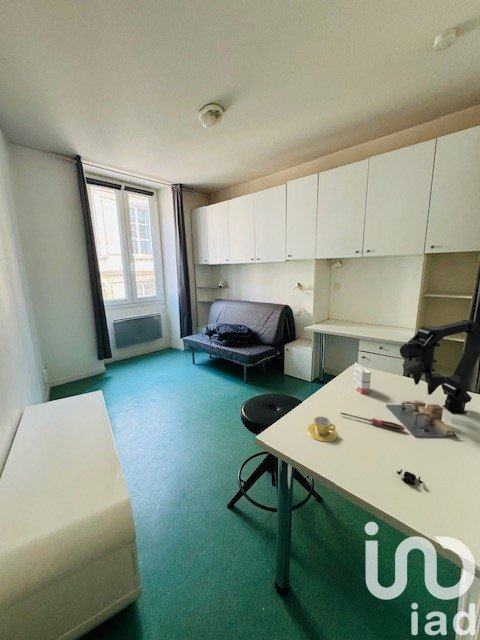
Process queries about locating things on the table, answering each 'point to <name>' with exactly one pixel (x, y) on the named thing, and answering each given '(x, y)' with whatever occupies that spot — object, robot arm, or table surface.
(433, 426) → the steel plate
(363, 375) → the ink cartridge box
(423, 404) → the compass bar
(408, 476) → the wireless earbuds
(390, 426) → the screwdriver
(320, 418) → the cup
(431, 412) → the slider leg
